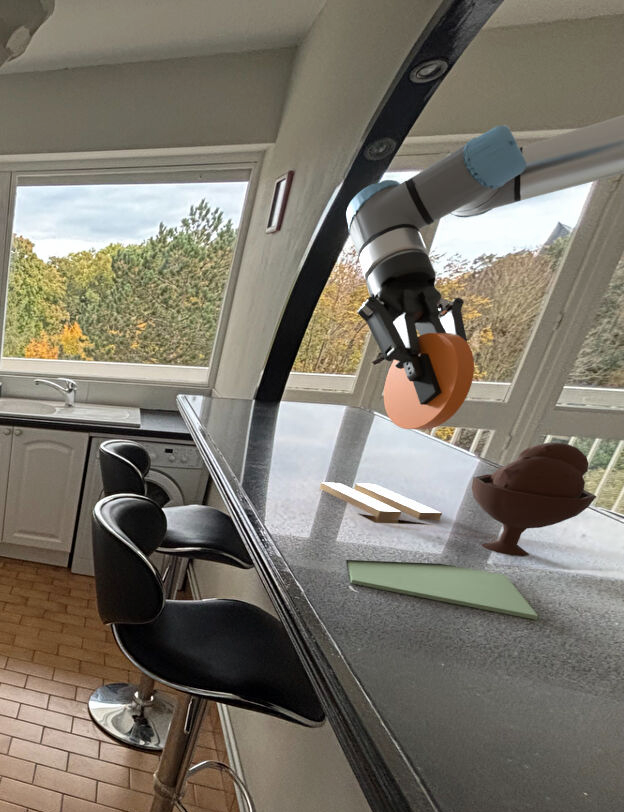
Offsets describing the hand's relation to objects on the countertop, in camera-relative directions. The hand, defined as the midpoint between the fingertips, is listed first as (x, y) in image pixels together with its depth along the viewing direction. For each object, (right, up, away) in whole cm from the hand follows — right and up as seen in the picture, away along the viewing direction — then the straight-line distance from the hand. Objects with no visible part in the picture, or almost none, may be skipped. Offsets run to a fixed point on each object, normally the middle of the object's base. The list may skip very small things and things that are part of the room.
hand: (441, 398), depth 79 cm
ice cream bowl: (+7, -21, -1) cm, 22 cm away
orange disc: (0, -3, +5) cm, 6 cm away
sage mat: (-10, -24, -9) cm, 28 cm away
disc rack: (+2, -15, +15) cm, 21 cm away
